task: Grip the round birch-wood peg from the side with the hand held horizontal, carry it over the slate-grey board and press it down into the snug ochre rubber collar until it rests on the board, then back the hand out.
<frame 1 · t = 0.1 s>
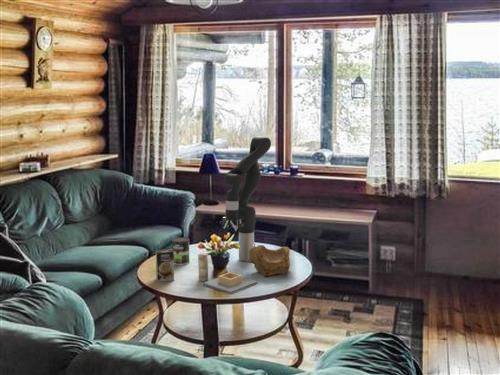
hand: (231, 236, 324), 17 cm above the table, tool pointing down, fingers open, 8 cm apart
coffee can: (181, 262, 333), on the table
rough brown rock: (270, 273, 312), on the table
collar board: (230, 284, 295), on the table
wooden peg: (203, 279, 302), on the table
coffee box: (165, 280, 303), on the table
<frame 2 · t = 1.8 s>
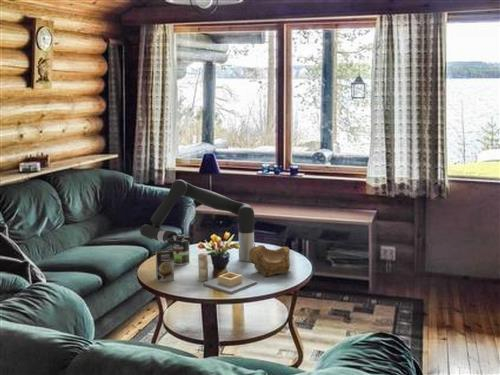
hand: (187, 241, 307), 19 cm above the table, tool horizontal, fingers open, 8 cm apart
nothing on the table moved.
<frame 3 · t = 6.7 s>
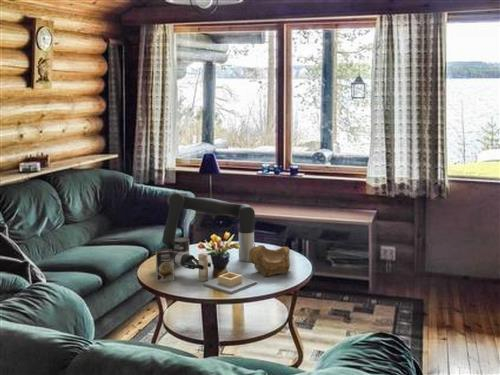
hand: (206, 266, 299), 8 cm above the table, tool horizontal, fingers closed on wooden peg, 5 cm apart
wooden peg: (203, 279, 302), on the table, touching gripper
everything else where it was.
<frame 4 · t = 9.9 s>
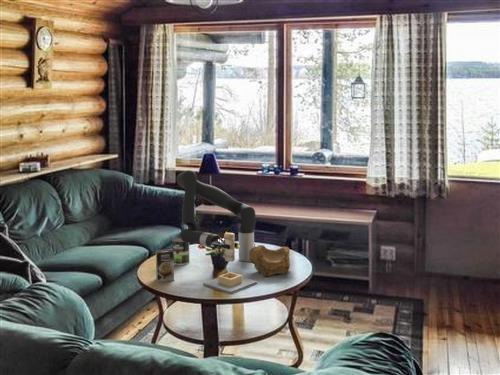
hand: (233, 246, 289), 21 cm above the table, tool horizontal, fingers closed on wooden peg, 5 cm apart
wooden peg: (229, 260, 293), point 13 cm above the table, touching gripper
everything else where it was.
when the fingers open (10 cm above the table, at t = 13.5 s): wooden peg stays where it is, resting on collar board.
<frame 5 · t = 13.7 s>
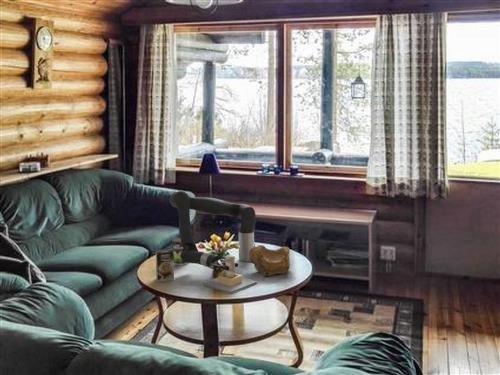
hand: (233, 266, 292), 10 cm above the table, tool horizontal, fingers open, 6 cm apart
wooden peg: (230, 282, 295), point 1 cm above the table, touching collar board
everything else where it was.
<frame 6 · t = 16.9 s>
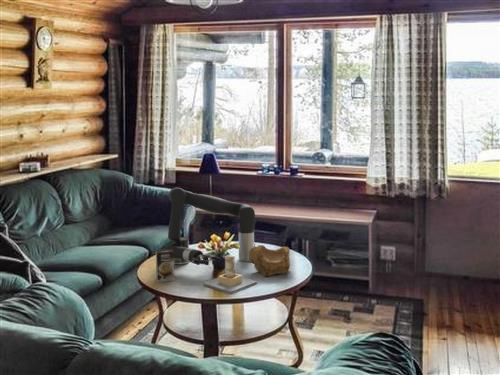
hand: (213, 261, 301), 10 cm above the table, tool horizontal, fingers open, 8 cm apart
coffee can: (180, 262, 333), on the table, touching arm
everything else where it was.
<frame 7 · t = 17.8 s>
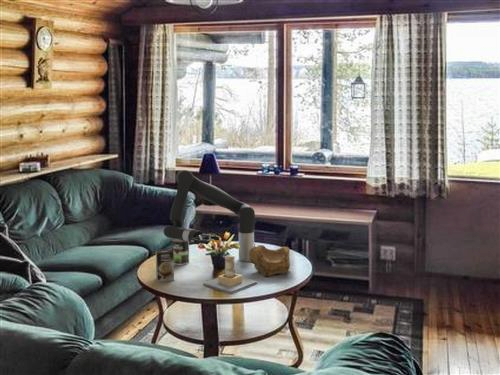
hand: (213, 240, 299), 22 cm above the table, tool horizontal, fingers open, 8 cm apart
coffee can: (180, 262, 333), on the table
everything else where it was.
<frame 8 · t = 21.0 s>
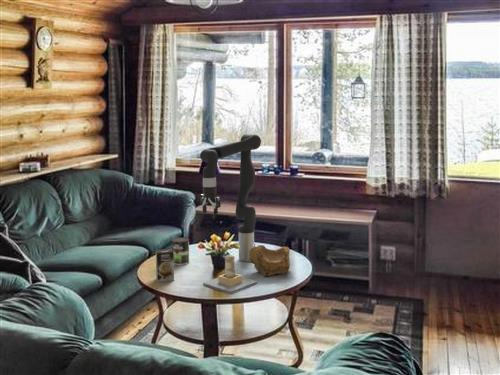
hand: (210, 213, 315), 32 cm above the table, tool pointing down, fingers open, 8 cm apart
nothing on the table moved.
at the end: wooden peg 0.1 cm off-centre on the collar board, point 1.2 cm above the collar board's base; wooden peg tilted 0°; the gripper is holding nothing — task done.
